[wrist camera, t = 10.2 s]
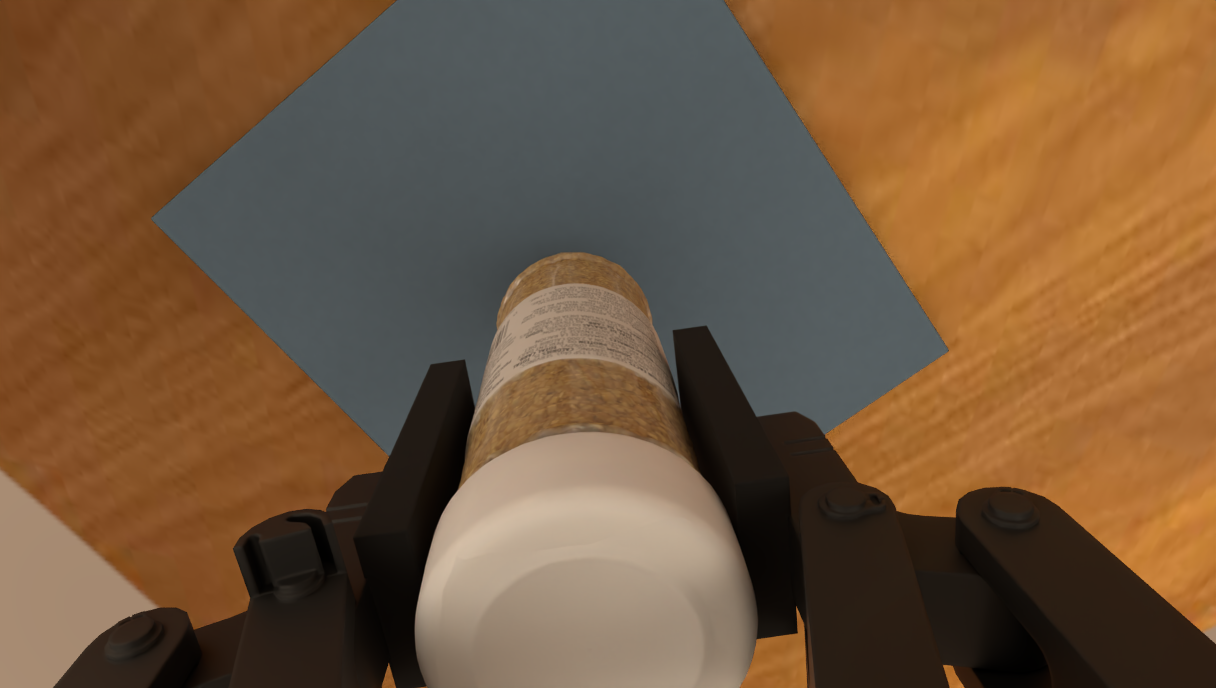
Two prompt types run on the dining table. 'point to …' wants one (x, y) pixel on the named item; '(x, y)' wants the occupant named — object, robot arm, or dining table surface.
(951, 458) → the dining table surface
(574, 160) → the rubber mat
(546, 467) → the sprinkles bottle
